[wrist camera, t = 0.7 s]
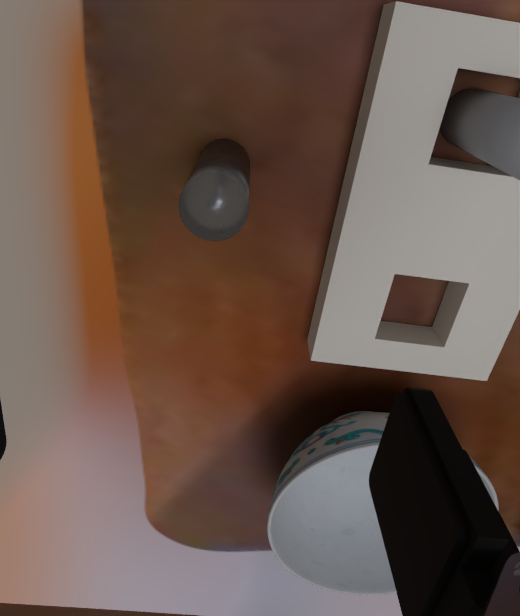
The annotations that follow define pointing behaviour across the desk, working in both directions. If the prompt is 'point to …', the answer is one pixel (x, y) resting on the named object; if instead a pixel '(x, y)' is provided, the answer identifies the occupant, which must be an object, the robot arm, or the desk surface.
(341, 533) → the chinaware
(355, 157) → the pin board
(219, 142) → the steel pin
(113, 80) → the desk surface
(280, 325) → the desk surface
